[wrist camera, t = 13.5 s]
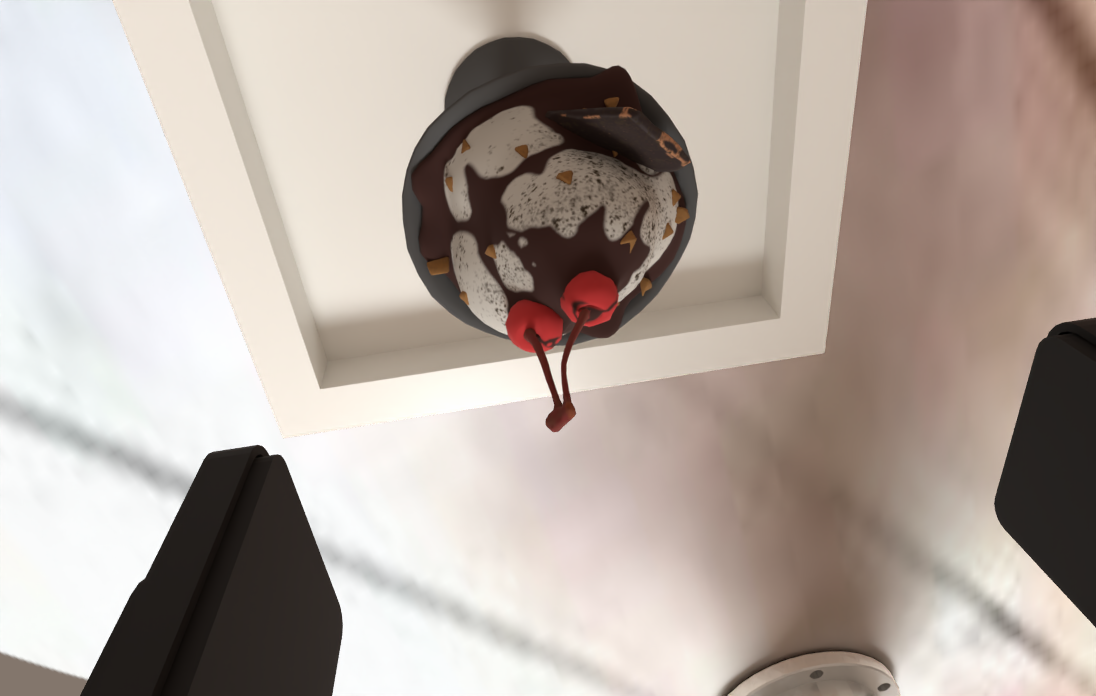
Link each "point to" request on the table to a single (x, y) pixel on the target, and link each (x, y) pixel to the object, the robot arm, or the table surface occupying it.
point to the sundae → (547, 201)
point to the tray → (395, 129)
